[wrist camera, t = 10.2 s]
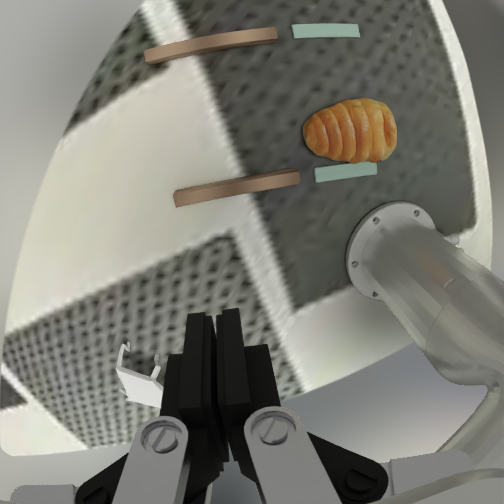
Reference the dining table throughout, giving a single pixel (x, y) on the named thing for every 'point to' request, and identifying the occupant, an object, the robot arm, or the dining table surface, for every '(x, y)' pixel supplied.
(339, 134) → the pastry
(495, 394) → the robot arm
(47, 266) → the dining table surface
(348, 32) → the strips
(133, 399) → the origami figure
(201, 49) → the chute
